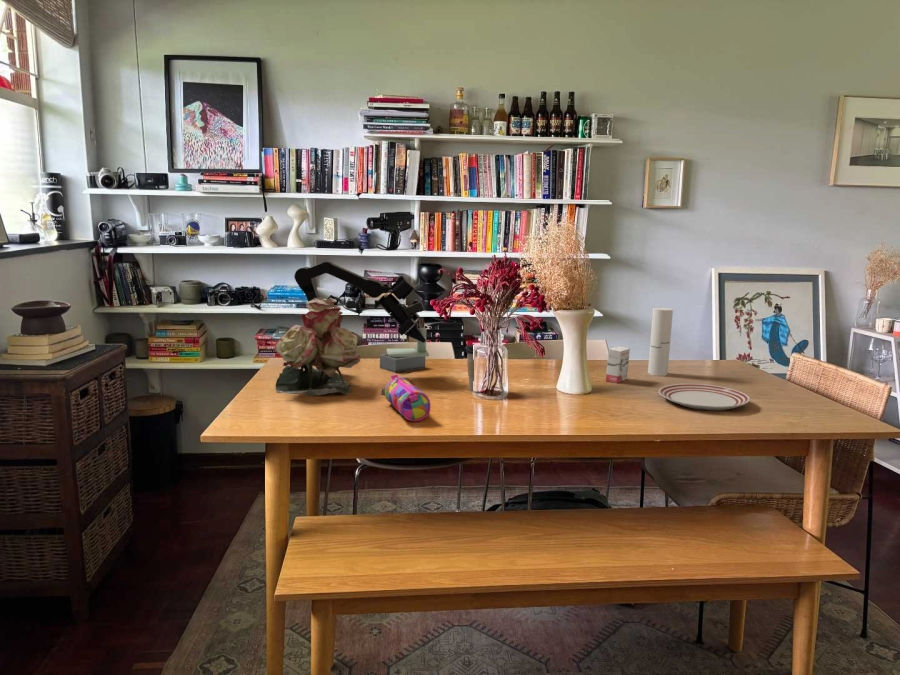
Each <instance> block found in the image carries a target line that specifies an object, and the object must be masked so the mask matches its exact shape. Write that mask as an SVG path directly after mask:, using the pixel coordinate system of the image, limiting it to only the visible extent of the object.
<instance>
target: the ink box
mask: <svg viewBox="0 0 900 675" xmlns="http://www.w3.org/2000/svg"><path fill="white" fill-rule="evenodd" d="M630 351H631V348H630V347H626V346H619V345H617V346H615V347H611V348H609V349H608V353H607V355H608V356H607V364H606V374H605V382H609V383H614V384H619V383H621V382H623V381H626V380H627V379H628V373H629V372H628V371H629V359H630Z"/></svg>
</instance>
